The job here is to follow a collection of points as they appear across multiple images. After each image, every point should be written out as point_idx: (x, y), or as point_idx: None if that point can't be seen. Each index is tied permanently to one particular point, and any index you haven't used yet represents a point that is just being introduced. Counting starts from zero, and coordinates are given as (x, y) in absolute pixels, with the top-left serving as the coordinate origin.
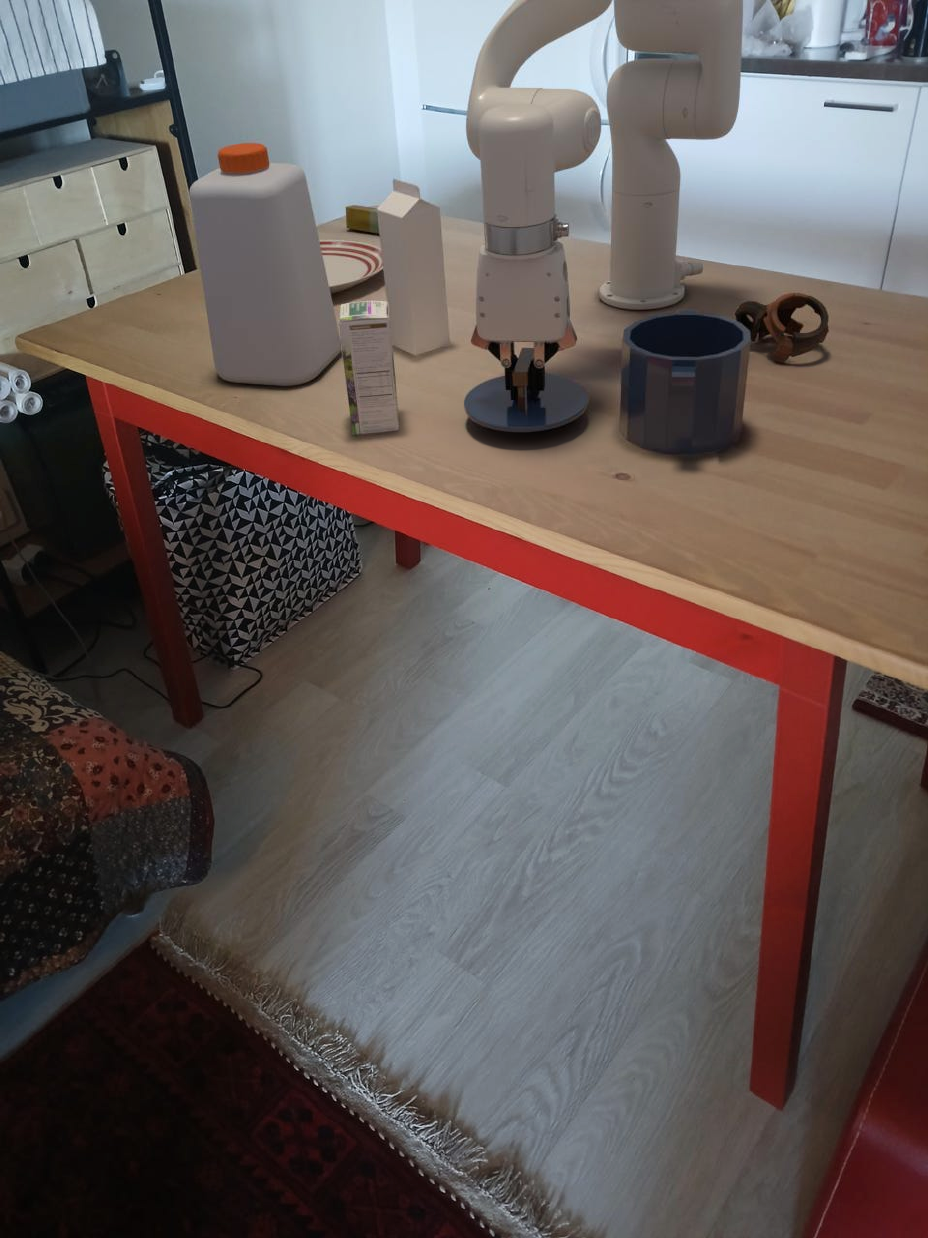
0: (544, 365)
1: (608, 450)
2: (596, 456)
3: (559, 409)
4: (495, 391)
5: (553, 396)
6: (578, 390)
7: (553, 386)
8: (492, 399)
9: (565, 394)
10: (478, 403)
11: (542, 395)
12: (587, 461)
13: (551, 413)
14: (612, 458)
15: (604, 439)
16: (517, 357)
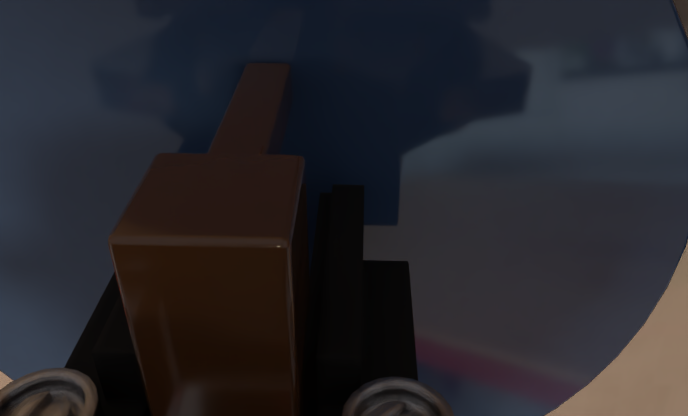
0: (416, 379)
1: (681, 344)
2: (623, 382)
3: (498, 347)
4: (41, 147)
5: (459, 207)
6: (644, 118)
7: (453, 53)
8: (72, 251)
9: (542, 179)
10: (12, 296)
11: (383, 197)
12: (582, 411)
13: (453, 379)
14: (684, 392)
15: (684, 266)
16: (131, 354)
